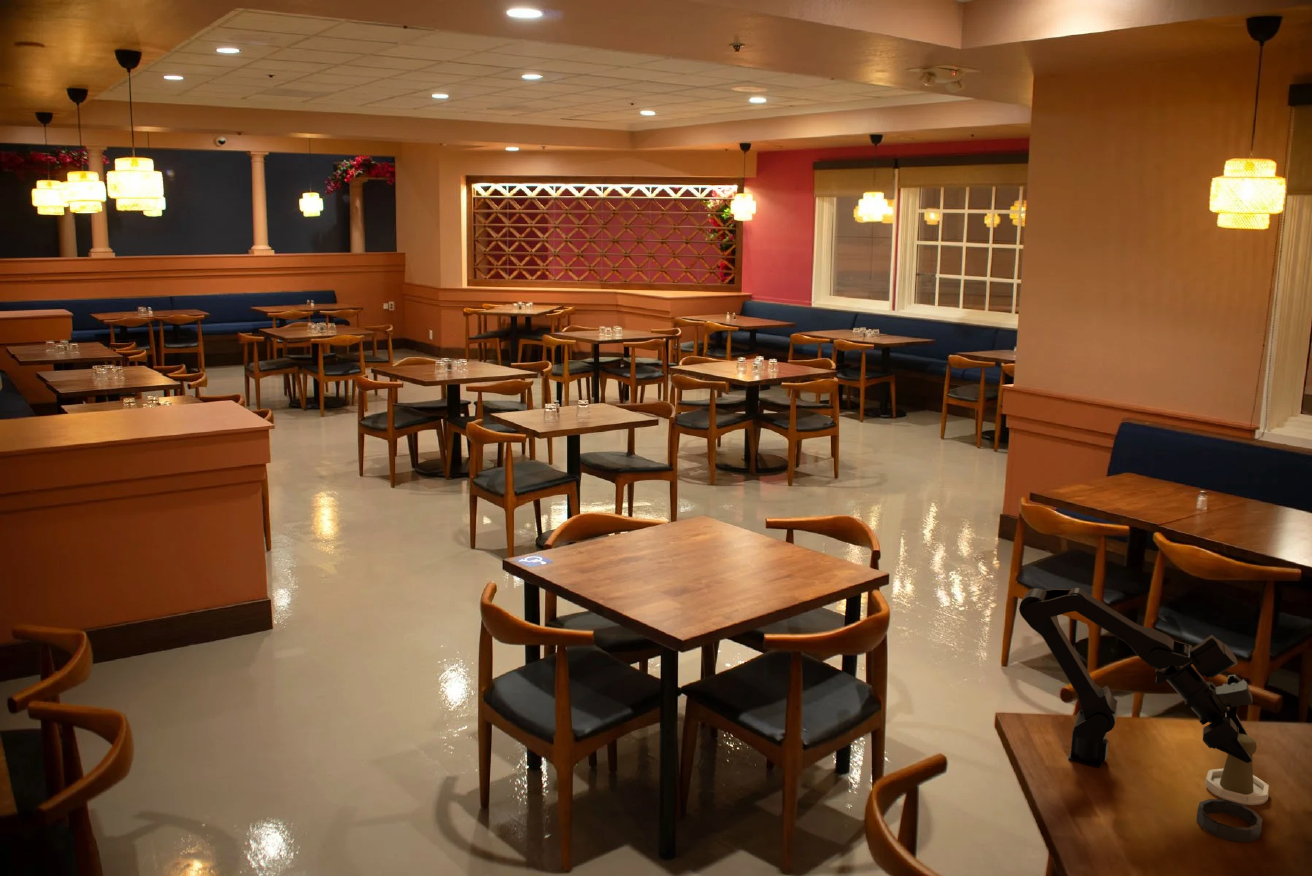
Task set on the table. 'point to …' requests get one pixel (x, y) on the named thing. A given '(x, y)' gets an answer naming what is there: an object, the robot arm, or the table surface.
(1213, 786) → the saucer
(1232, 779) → the cork
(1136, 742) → the table surface
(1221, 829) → the dark grey ring
